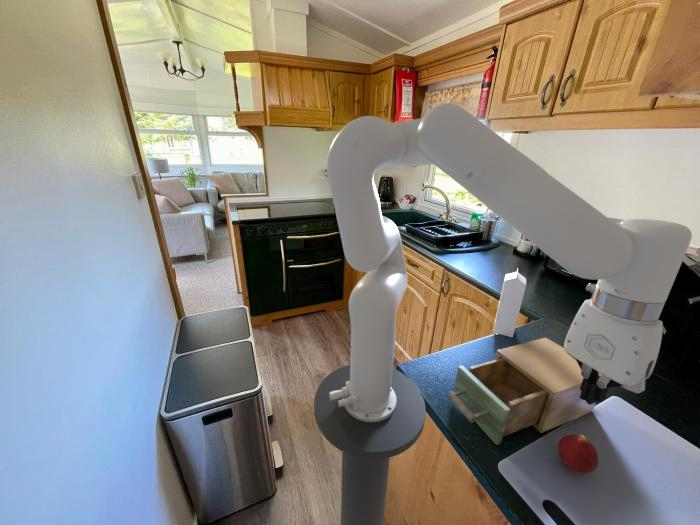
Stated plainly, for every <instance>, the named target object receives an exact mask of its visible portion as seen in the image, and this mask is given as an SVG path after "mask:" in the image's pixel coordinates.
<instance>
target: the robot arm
mask: <svg viewBox="0 0 700 525" xmlns="http://www.w3.org/2000/svg"><path fill="white" fill-rule="evenodd" d="M429 165H434V166H436V167H437V168H438V169H439V170H440V171H441V172H443V173H444V174H446V175H447V176H448V177H449V178H451V179H452V180H453V181H454V182H456V183H457V184H459V185H460V186H461V187H462V188H464V189H465V190H466V191H467V192H468V193H469V194H471V195H472V196H473V197H474V198H476V200H478V202H481V203H482V205H484V206H485V207H487V209H489V211H491V212H492V213H493V214H495V215H496V216H497V217H499V218H501V219H502V220H504V221H505V222H506V223H507V224H509V225H510V226H511V227H512V228H514V229H515V230H516V231H518V233H520V234H521V235H522V236H523V237H525V239H527V240H528V241H529V242H531V243H532V244H533V245H534V246H535V247H537V248H538V249H539V250H541V251H542V252H543V253H544V254H545V255H547V256H548V257H549V258H550V259H551V260H553V261H554V262H556V263H557V264H558V265H559V266H560V267H561V268H563V269H564V270H566V271H567V272H568V273H570V274H572V275H573V276H576V277H578V278H581V279H585V280H595V281H596V280H597V283H592V282H589V283H588V284H587V285H586V286H585V290H586V291H587V292H589V293H590V294H591V297H590V298H589V299H585V300H584V302H583V303H582V305H581V306H580V307H579V309H578V311H577V313H576V314H575V316H574V318H573V320H572V322H571V324H570V327H569V329H568V331H567V333H566V337H565V339H564V343H563V348H564V349H565V350H566V353H567V354H569V355H570V356H571V357H572V358H573V359H575V360H576V361H577V363H578V365H579V367H580V369H581V375H582V377H584V378H583V381H582V384H581V387H580V390H581V394H580V399H582V400H586V403H588V404H589V405H591V404H593V403H596V404H597V403H599V404H600V403H602V402H604V401H605V400H606V397H607V395H608V393H609V389H610V388H623V389H624V390H627V391H629V392H632V393H634V394H640V393H644V392H645V391H646V380H647V379H650V377H651V375H652V373H653V372H654V368H655V366H656V363H657V361H658V357H659V353H660V349H661V344H662V340H663V330H664V328H663V326H664V323H663V321H662V320H660V319H659V318H660V316H661V313H662V311H663V309H664V306H665V304H666V302H667V299H668V297H669V295H670V292H671V290H672V287H673V285H674V283H675V280H676V277H677V276H678V273H679V270H680V268H681V266H682V263H683V261H684V258H685V256H686V253H687V251H688V249H689V247H690V244H691V241H692V239H693V234H692V231H691V229H690V228H689V227H687V226H686V225H683V224H681V223H677V222H672V221H666V220H660V219H650V218H649V219H648V218H630V219H622V218H614V217H608V216H606V215H605V214H603V213H602V212H601V211H599V210H598V209H597V208H595V207H594V206H593V205H591V203H589V202H588V201H586V200H585V199H584V198H582V197H581V196H580V195H578V194H577V193H575V192H574V191H573V190H571V189H570V188H568V187H567V186H566V185H564V184H563V183H562V182H560V181H559V180H557V179H556V178H555V177H554V176H552V175H550V174H549V173H548V172H547V171H546V170H545V169H544V168H543V167H541V166H540V165H539V164H538V163H536V162H535V161H534V160H532V159H531V158H529V157H528V156H527V155H526V154H524V153H523V152H522V151H520V150H519V149H517V148H516V147H515V146H513V145H512V144H511V143H509V142H508V141H506V140H505V139H504V138H503V137H501V136H500V135H499V134H498V133H496V132H495V131H494V130H492V129H491V128H489V127H488V126H487V125H486V124H485V123H483V122H482V121H480V120H479V118H477V117H476V116H474V115H473V114H472V113H470V112H469V111H467V110H466V109H464V108H463V107H462V106H459V105H458V104H455V103H452V102H451V103H450V102H445V103H440V104H438V105H436V106H434V107H432V108H430V109H429V110H428V111H427V112H426V113H425V114H424V116H423V117H422V118H415V119H409V120H403V121H397V122H390V121H389V120H386V119H384V118H381V117H380V116H379V117H378V116H374V115H365V116H359V117H357V118H355V119H352V120H351V121H349V122H348V123H347V124H346V125H344V126H343V127H342V128H341V129H340V130H339V132H337V134H336V135H335V137H334V139H333V140H332V142H331V145H330V147H329V149H328V152H327V159H326V175H327V181H328V185H329V186H328V187H329V189H330V193H331V197H332V202H333V206H334V211H335V216H336V221H337V225H338V230H339V235H340V239H341V244H342V249H343V254H344V257H345V260H346V262H347V263H348V265H349V266H350V267H351V268H352V269H353V270H355V271H357V272H361V273H366V274H364V275H363V276H362V277H361V278H360V279H359V281H358V282H357V283H356V284H355V285H354V287H353V289H352V290H351V293H350V295H349V299H348V313H349V319H350V320H349V321H350V360H349V362H350V364H349V365H350V381H347V382H346V387H342V390H338V391H337V390H336V391H332V392H329V397H330V401H334V400H338V399H340V398H343V399H342V400H338V405H339V407H342V406H344V407H345V409H346V410H347V411H348V413H349V414H350V415H352V416H353V417H355V418H356V419H358V420H361V421H365V422H379V421H382V420H385V419H386V418H388V417H389V416H391V415H392V413H393V412H394V410H395V408H396V400H397V398H396V394H395V392H394V390H393V389H392V388H391V381H392V370H393V369H394V360H395V359H394V358H395V349H396V348H395V347H396V335H397V327H396V324H397V323H396V320H397V313H398V309H399V306H400V304H401V302H402V299H403V298H404V296H405V294H406V292H407V288H408V283H409V282H408V281H409V280H408V271H407V267H406V266H407V265H406V259H405V253H404V248H403V241H402V236H401V233H400V231H399V228H398V227H397V225H396V224H395V222H394V221H393V220H392V219H390V218H388V217H387V216H385V215H383V214H382V209H381V201H380V197H379V193H378V190H377V188H376V184H375V179H374V177H375V173H376V172H377V171H389V170H395V169H396V170H397V169H405V168H412V167H422V166H429ZM599 372H600V373H601V374H602V375H601V376H599V375H598V374H599Z"/></svg>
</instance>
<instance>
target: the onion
mask: <svg viewBox="0 0 700 525" xmlns="http://www.w3.org/2000/svg"><path fill="white" fill-rule="evenodd" d="M557 443H558V444H557V453H558V455H559V457H560V459H561V460H562V462H563V463H564V464H565V465H566V466H567V467H568V468H569V469H570V470H572V471H573V472H575V473H578V474H582V475H586V474H592V473H593V472H595V471H596V470H597V468H598V467H599V463H600V462H599V454H598V451H597V450H596V448H595V447H594V445H593V443H592V442H590V441H589V439H587V437H586V436H584V435H583V434H580V433H579V434H573V433H572V434H566V435H563V436H562V437H561V438H560V440H559V441H558V442H557Z"/></svg>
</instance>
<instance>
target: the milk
mask: <svg viewBox="0 0 700 525" xmlns="http://www.w3.org/2000/svg"><path fill="white" fill-rule="evenodd" d="M503 279H504V280H503V283H502V287H501V292H500V296H499V302H498V306H497V310H496V313H495V314H496V315H495V318H494V323H493V329H492V333H494V334H498V335H502V336H504V337H508V338H514V334H515V330H516V327H517V323H518V319H519V315H520V311H521V307H522V304H523V299H524V297H525V293H526V288H527V278H526V277H525V276H523V275H522V274H521V273H520V272H519V268H518V267H517V269H516V271H513V272H511V273H506V274H505V276H504V278H503Z"/></svg>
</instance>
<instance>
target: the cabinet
mask: <svg viewBox="0 0 700 525" xmlns="http://www.w3.org/2000/svg"><path fill="white" fill-rule="evenodd" d="M500 358H503V359H504V360H506V361H507V362H508V363H510V364H511V365H512V366H514V367H515V368H516V369H518V370H519V371H520V372H522V373H523V374H524V375H526V376H527V377H528V378H530V379H531V380H532V381H534V382H535V383H536V384H537V385H539V386H540V387H541V388H543V389H544V390H545V391H547V392H548V393H549V396H548V399H547V402H546V405H545V408H544V411H543V414H542V417H541V420H540V422H538V423H536V424H533V425H531V426H532V427H533V428H535V429H536V430H537V431H538V432H539V434H542V433H545V432H547V431H550V430H552V429H554V428H557V427H559V426H561V425H564V424H566V423H569V422H571V421H573V420H576V419H579V418H580V417H582V416H585V415H587V414H590V413H592V412H593V411H594V409H595V406H596V404H597V402H596V403H593V404H591V405H589V404H588V403H586V400H582V399H580V394H581V390H580V387H581V384H582V381H583V378H584V377H582V375H581V369H580V367H579V365H578V363H577V361H576V360H575V359H573V358H572V357H571V356H570V355H569V354H567V353H566V350H565V349H564V346H561V345H560V344H558V343H556V342H554V341H553V340H551V339H550V338H547V337H542V338H538V339H534V340H531V341H527V342H523V343H520V344H515V345H511V346H507V347H505V348H504V347H503V348H502V349H497V350H496V353H495V357H494V360H496V359H500ZM598 375H599V376H601V375H602V374H601V373H600V372H599V374H598Z"/></svg>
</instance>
